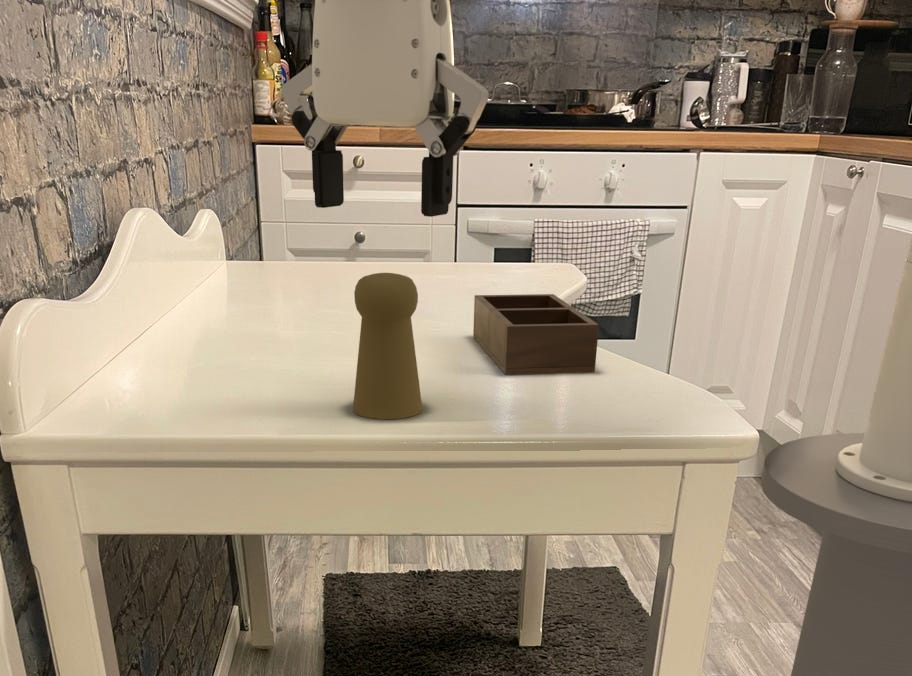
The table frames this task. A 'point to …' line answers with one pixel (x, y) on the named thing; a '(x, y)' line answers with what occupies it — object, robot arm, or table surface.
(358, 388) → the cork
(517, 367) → the divided wooden box
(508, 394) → the table surface
